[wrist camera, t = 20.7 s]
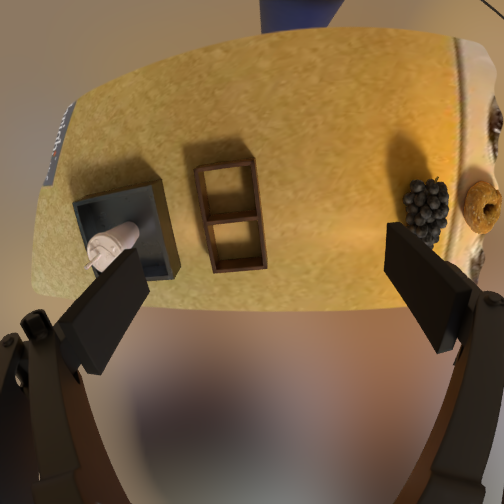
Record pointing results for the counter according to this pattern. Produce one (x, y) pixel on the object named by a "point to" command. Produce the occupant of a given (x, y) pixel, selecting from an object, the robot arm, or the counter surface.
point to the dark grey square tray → (143, 215)
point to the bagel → (482, 207)
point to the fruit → (427, 209)
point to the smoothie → (111, 244)
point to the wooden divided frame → (230, 219)
